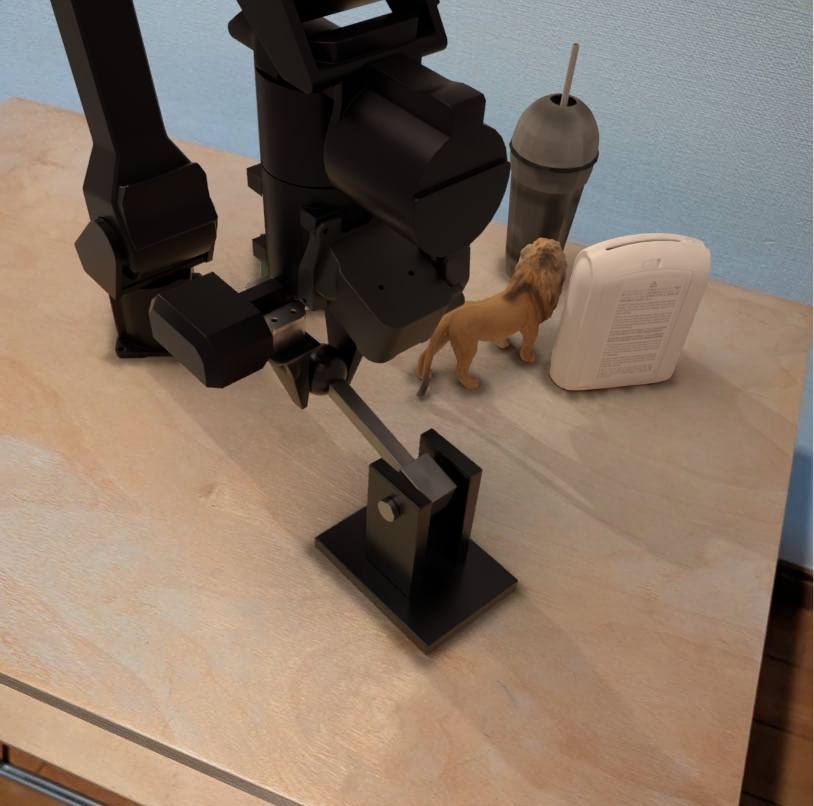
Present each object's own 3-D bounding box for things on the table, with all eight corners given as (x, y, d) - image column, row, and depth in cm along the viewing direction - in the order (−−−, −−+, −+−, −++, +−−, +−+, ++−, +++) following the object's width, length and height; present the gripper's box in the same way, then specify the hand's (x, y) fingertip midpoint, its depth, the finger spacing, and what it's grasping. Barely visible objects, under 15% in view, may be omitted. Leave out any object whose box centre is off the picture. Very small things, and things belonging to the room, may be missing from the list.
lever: (282, 377, 57) (287, 344, 54) (322, 357, 59) (329, 324, 56) (412, 531, 54) (425, 504, 51) (451, 505, 56) (465, 478, 53)
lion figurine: (519, 312, 78) (537, 218, 71) (566, 343, 76) (590, 249, 69) (395, 386, 71) (401, 289, 64) (443, 422, 69) (455, 325, 62)
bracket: (314, 548, 61) (312, 443, 53) (404, 492, 64) (413, 387, 57) (425, 657, 56) (440, 560, 48) (515, 590, 59) (542, 490, 52)
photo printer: (657, 350, 76) (704, 216, 66) (678, 384, 73) (730, 250, 64) (541, 362, 74) (572, 226, 65) (558, 398, 72) (593, 262, 62)
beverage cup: (569, 253, 84) (623, 22, 69) (570, 300, 80) (628, 64, 64) (491, 244, 84) (527, 11, 69) (488, 291, 80) (525, 53, 64)
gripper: (260, 307, 38) (278, 543, 50) (561, 171, 46) (514, 401, 58) (119, 190, 43) (167, 430, 55) (414, 86, 51) (399, 314, 63)
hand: (321, 393), depth 58 cm, fingers closed on lever, 3 cm apart
